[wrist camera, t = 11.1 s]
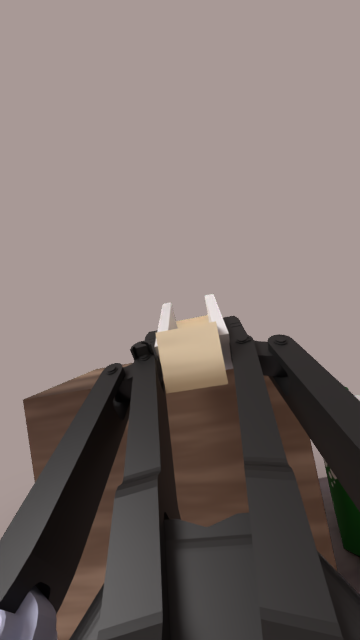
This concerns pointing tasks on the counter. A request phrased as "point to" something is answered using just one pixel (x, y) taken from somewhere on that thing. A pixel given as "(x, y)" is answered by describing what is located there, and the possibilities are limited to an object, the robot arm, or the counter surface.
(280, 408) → the walnut shelf
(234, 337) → the robot arm
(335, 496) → the milk carton
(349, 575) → the counter surface
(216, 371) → the oak bar
